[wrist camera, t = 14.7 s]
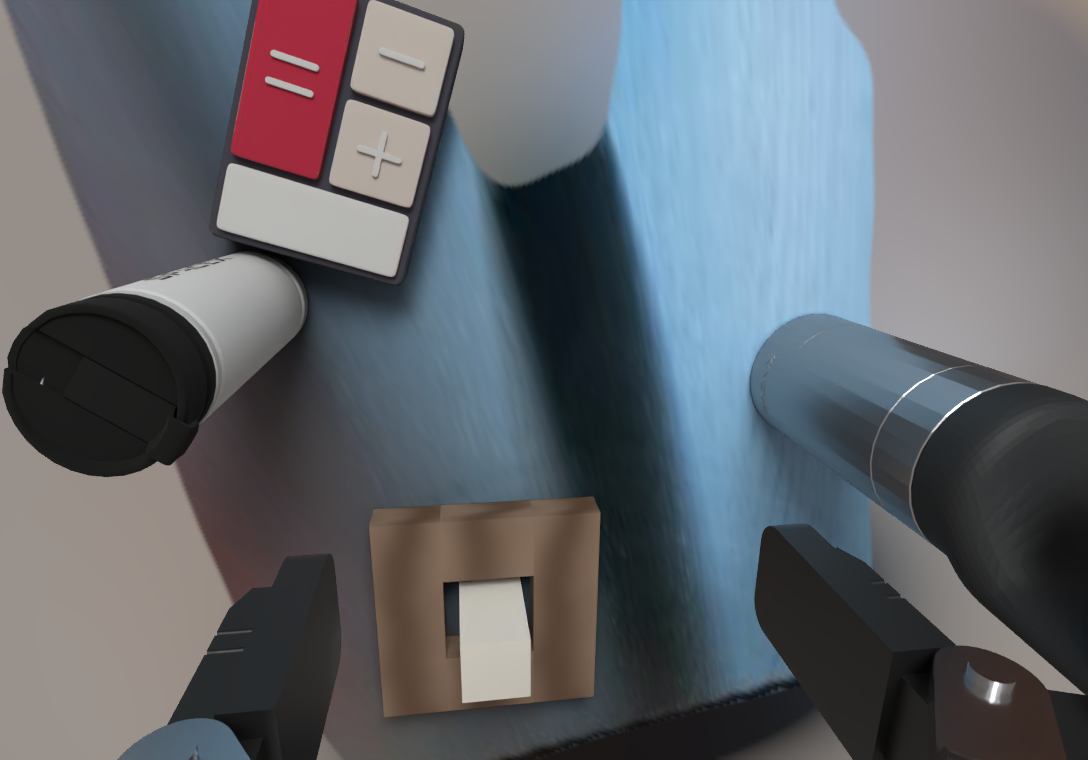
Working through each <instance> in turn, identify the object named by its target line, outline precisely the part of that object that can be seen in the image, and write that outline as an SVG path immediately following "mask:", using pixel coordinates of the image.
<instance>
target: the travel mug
mask: <svg viewBox="0 0 1088 760" xmlns="http://www.w3.org/2000/svg"><path fill="white" fill-rule="evenodd" d="M307 312H308V298H307V292H306V289H305V287H304V284H303V282H302V280H301V279H300V277H299V276H298V274H297V273H296V272H295V271H294V270H293V269H292V268H291V266H289V265H288V264H287V263H285V262H284V261H283V260H281V259H279V258H277V257H275V256H273V255H271V254H268V253H264V252H260V251H241V252H237V253H234V254H230V255H227V256H223V257H220V258H217V259H213V260H210V261H206V262H203V263H200V264H196V265H193V266H189V267H186V268H183V269H179V270H176V271H172V272H169V273H166V274H162V275H159V276H155V277H152V278H149V279H145V280H142V281H139V282H135V283H132V284H128V285H125V286H122V287H118V288H115V289H111V290H108V291H105V292H101V293H98V294H95V295H91V296H88V297H84V298H83V299H81V300H79V301H77V302H74V303H70V304H66V305H63V306H60V307H57V308H53V309H50V310H47V311H46V312H44V313H43V314H41V315H40V316H39V317H38V318H36V319H35V320H34V321H32V322H31V323H30V324H29V326H27V327H25V328H23V329H22V330H21V332H20V333H19V335H18V336H17V338H16V339H15V340H14V342H13V344H12V347H11V349H10V352H9V354H8V357H7V358H8V368H5V369H4V378H3V388H2V393H3V397H4V400H5V403H6V407H7V410H8V412H9V414H10V416H11V418H12V420H13V422H14V424H15V426H16V427H17V428H18V430H19V431H20V432H21V434H22V435H23V436H24V438H25V439H26V440H27V441H28V442H29V443H30V444H31V445H32V446H33V447H34V448H35V449H36V450H37V451H38V452H40V453H41V454H43V455H44V456H45V457H47V458H48V459H50V460H51V461H53V462H54V463H56V464H58V465H61V466H63V467H65V468H67V469H69V470H71V471H75V472H79V473H82V474H86V475H92V476H102V477H112V476H124V475H128V474H131V473H135V472H138V471H141V470H143V469H145V468H147V467H149V466H151V465H152V464H154V463H155V462H157V461H158V462H160V463H162V464H164V465H171V464H172V463H173V462H174V461H175V460H176V459H178V458H179V457H180V456H182V455H183V454H184V453H185V452H186V450H187V449H188V447H189V446H190V444H191V443H192V441H193V439H194V437H195V436H196V434H197V432H198V428H199V425H200V424H201V423H203V421H204V420H205V419H207V418H208V417H209V416H210V415H211V414H212V413H213V412H214V411H215V410H216V409H218V408H219V407H220V406H221V405H222V404H223V403H224V402H225V401H226V400H227V399H228V398H229V397H230V396H231V395H233V394H234V393H235V392H236V391H237V390H238V389H239V388H240V387H241V386H242V385H243V384H244V383H245V382H246V381H248V380H249V379H250V378H251V377H252V376H253V375H254V374H255V373H256V372H257V371H258V370H259V369H260V368H261V367H263V366H264V365H265V364H266V363H267V362H268V361H269V360H270V359H271V358H272V357H273V356H274V355H275V354H276V353H278V352H279V351H280V350H281V349H282V348H283V347H284V346H285V345H286V344H287V343H288V342H289V341H290V340H291V339H293V338H294V337H295V336H296V335H297V333H298V332H299V331H300V330H301V328H302V326H303V324H304V322H305V320H306V317H307Z"/></svg>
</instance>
